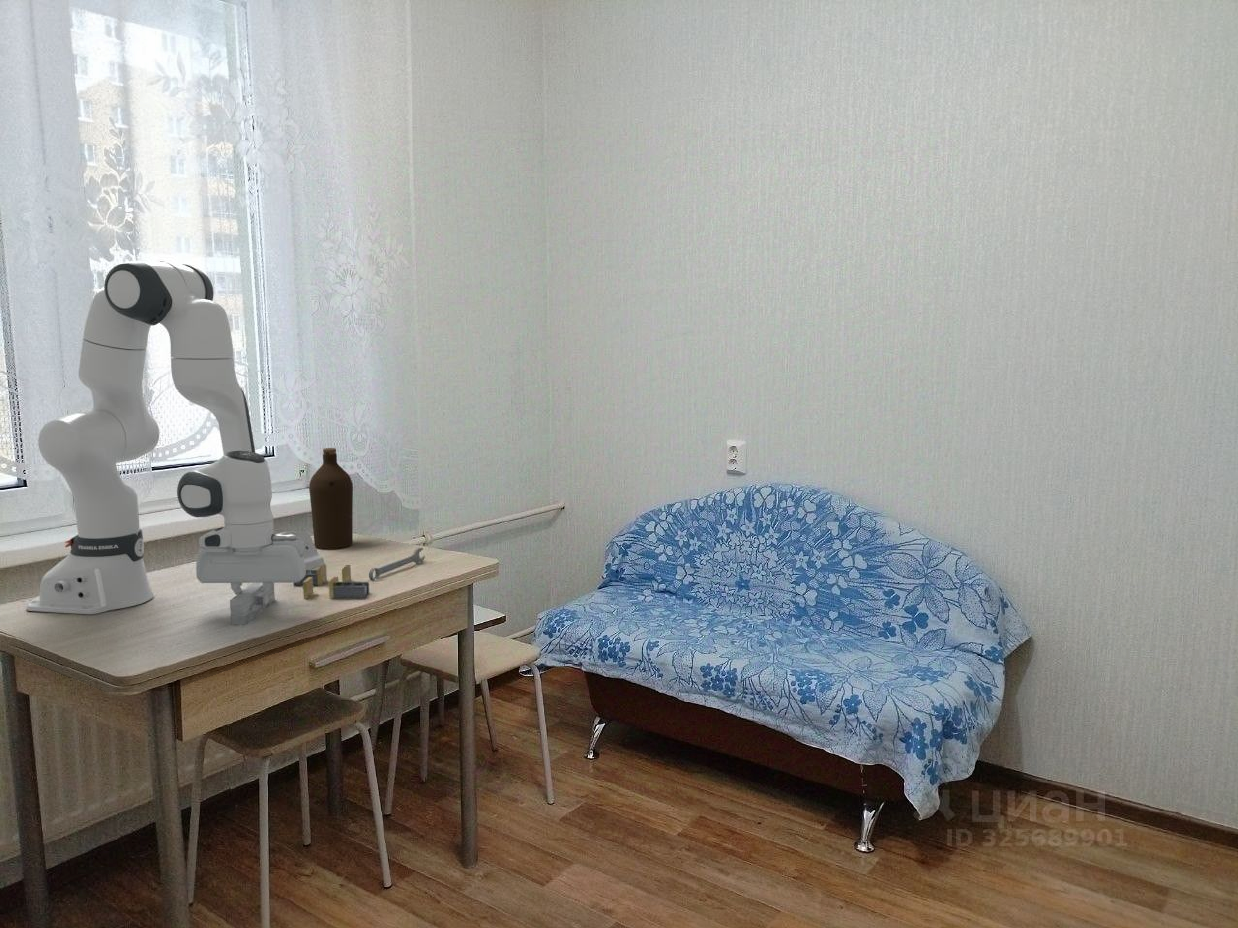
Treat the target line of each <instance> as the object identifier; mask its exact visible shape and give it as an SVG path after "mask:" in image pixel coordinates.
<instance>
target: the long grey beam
mask: <svg viewBox="0 0 1238 928" xmlns="http://www.w3.org/2000/svg"><path fill="white" fill-rule="evenodd" d="M265 590H266V588H263V583H250V584H249V585H248V586H246V588H244V589H242V592H240V593H239V594H238V595H236V594H235V596H233V597H232V598H231V599H229V605H230V606H229V608H230V610H229V611H230V625H231V627H237V625H238V626H239V625H241V626H242V627H243V626H244V627H245V626H247V624H249V623H250V622H252V620H253V619H255V618H256V617H257V616H258V615H259V614H260V613H261V612H262V611H264V609H266V608H267V607H269V605H270V604H272V603H273V602H274V601H275V599H276V598H275V597H276V596H275V585H274V586H273V588H272V589H271V591H270V593H269V603H268V604H267V605H259V603H258V602H259V600H258V596H259V595H260V594H263V593H264V592H265ZM248 622H249V623H248ZM241 626H239V627H241Z"/></svg>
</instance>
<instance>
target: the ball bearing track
mask: <svg viewBox="0 0 1238 928" xmlns="http://www.w3.org/2000/svg"><path fill="white" fill-rule="evenodd" d="M351 574H352V572H351V564H346V565H345V566H344V567H343V568H342V569H341V577H342V579H341V580H342V581H339V576H334V577H332V578H331V579H330V580H329V581H328V590H329V591H328V592H329V593H328V595H329V599H365V598H366V596H368V595H369V594H370V581H351V580H352V575H351ZM327 575H328V574H327V564H325V565H322V566H320V567H317V569H310V570H306V575H305V576H304V578H303V579H302V580H301V581H299V582H295V583H293V586H295V587H296V586H300V587H301V586H302V587H303V589H302V590H303V591H302V592H303V593H302V594H303V599H309V598H310V597H311V596H312V595H314V586H323V585H324V584H325V583H326V582H327V580H328V578H327Z"/></svg>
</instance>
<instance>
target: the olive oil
mask: <svg viewBox="0 0 1238 928" xmlns="http://www.w3.org/2000/svg"><path fill="white" fill-rule="evenodd" d="M322 452H323V453H322V461H323V462H322V465H321V466H320V467H319V468H318V470H316V472H315V473H314V474H313V476H312V477H311V479H310V481H309V487H308V488H309V490H308V491H309V499H310V508H311V509H310V510H311V519H312V524H311V525H312V529H313V531H312V532H313V533H312V534H313V543H314V545H315V547H316V549H320V550H338V549H344V548H345V549H346V548H349V547H351V546H353V541H354V539H353V535H354V532H353V523H354V522H353V520H354V519H353V514H354V513H353V512H354V511H353V506H354V505H353V500H354V496H353V495H354V485H353V484H354V483H353V480H352V478H351V476H350V475H349V474H348V472H347V471H346V470H345V469H343V467H341V466H340V464H339V463H338V460H337V459H338V458H337V457H338V454H337V448H335V447H327V448H325V447H324V448H323V449H322Z"/></svg>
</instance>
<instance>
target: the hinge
mask: <svg viewBox="0 0 1238 928" xmlns="http://www.w3.org/2000/svg"><path fill="white" fill-rule="evenodd" d="M275 535H296V537H299V538H301V539H302V540H303V542H304V554H303V556H304V561H305V568H306V570H314V569H316V568H320V567H321V566H322V565H326V563H325V560H324V558H323V556H322V555H320V554H319V552H318V550H317V548H316V547H315V545H314V539H312V538H313V537H312V536H311V534H310V533H308V532H307V531H295V530H294V531H283V532H280V533H277V534H275ZM296 540H298V539H296Z"/></svg>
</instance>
